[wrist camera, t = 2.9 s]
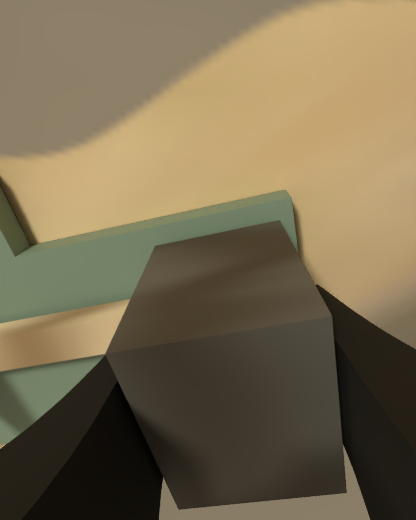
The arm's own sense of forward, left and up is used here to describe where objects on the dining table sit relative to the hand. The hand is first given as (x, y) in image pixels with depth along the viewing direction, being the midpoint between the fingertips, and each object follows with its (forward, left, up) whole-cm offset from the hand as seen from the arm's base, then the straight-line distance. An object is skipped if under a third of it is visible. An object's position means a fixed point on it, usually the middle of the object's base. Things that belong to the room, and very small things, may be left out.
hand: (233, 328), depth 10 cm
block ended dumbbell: (+4, -3, -2) cm, 5 cm away
